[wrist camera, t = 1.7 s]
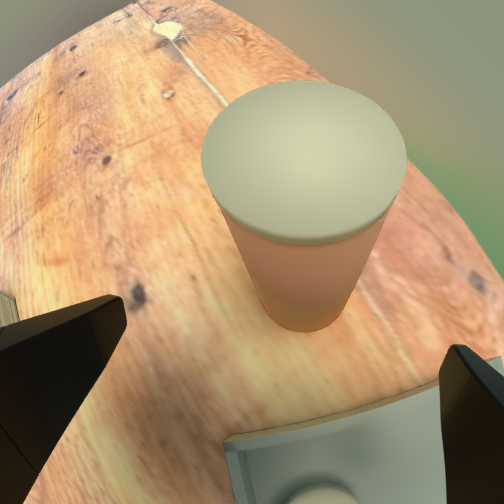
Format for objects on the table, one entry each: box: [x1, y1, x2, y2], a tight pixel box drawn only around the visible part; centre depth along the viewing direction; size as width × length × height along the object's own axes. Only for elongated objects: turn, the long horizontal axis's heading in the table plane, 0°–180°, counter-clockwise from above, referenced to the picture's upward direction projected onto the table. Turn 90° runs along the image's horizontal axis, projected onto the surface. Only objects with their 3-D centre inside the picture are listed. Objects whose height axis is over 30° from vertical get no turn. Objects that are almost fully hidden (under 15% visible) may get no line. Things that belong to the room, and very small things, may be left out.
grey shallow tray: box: [223, 356, 504, 504], centre depth 13 cm, size 16×12×3 cm
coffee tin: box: [201, 80, 407, 332], centre depth 14 cm, size 6×6×13 cm
